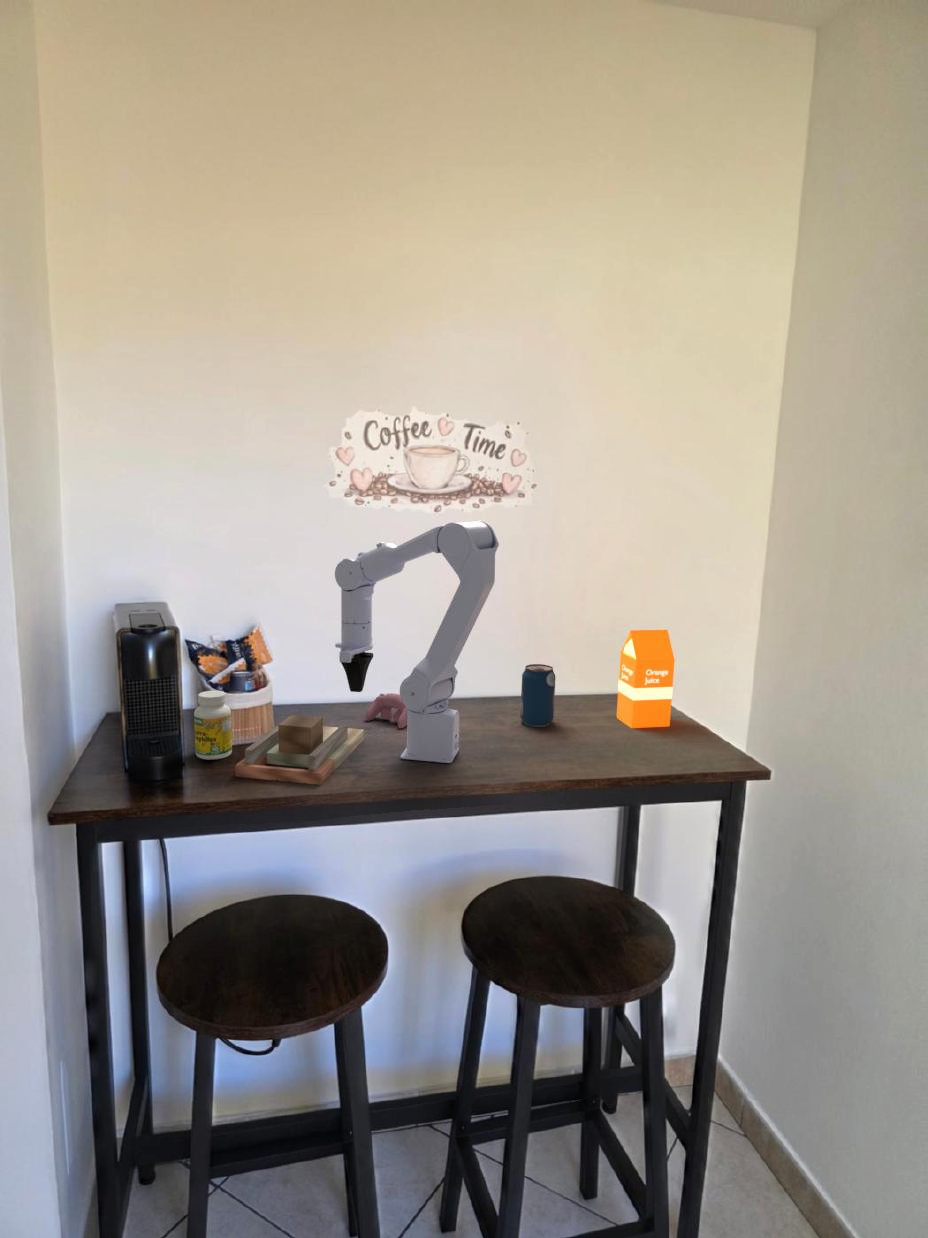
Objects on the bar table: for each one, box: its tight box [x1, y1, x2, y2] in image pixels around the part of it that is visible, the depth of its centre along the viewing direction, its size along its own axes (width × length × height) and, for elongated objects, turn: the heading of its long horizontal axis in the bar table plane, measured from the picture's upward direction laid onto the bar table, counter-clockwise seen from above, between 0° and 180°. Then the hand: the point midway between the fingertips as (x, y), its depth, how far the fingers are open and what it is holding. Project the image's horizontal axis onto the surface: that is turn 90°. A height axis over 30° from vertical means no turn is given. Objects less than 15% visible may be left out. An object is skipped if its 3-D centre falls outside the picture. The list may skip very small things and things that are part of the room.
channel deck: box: [234, 724, 365, 786], centre depth 149 cm, size 15×24×4 cm, turn 170°
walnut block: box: [277, 714, 324, 755], centre depth 148 cm, size 6×6×5 cm
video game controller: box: [365, 692, 407, 729], centre depth 171 cm, size 10×5×7 cm, turn 58°
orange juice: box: [616, 629, 676, 729], centre depth 175 cm, size 8×9×20 cm
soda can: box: [519, 663, 556, 728], centre depth 173 cm, size 7×7×12 cm
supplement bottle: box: [193, 690, 233, 761], centre depth 148 cm, size 6×6×11 cm
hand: (356, 691), depth 159 cm, fingers closed
